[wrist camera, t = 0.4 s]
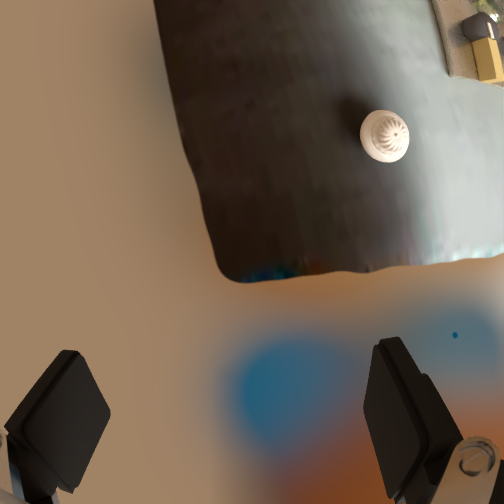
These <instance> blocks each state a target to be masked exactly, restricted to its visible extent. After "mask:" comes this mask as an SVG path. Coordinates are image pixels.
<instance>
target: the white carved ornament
mask: <svg viewBox="0 0 504 504" xmlns="http://www.w3.org/2000/svg"><path fill="white" fill-rule="evenodd" d="M360 139H361V143H362V145H363V147H364V149H365V151H366V152H367V153H368V154H369V155H370V156H371V157H372V158H374V159H376V160H378V161H381V162H394V161H396V160H398V159H400V158H401V157H402V156H403V155H404V154H405V152H406V150H407V148H408V144H409V132H408V128H407V126H406V124H405V123H404V121H403V120H402V119H401V118H400V117H399V116H398V115H396V114H395V113H393V112H391V111H387V110H376V111H373V112H372V113H370V114H369V115H368V116H367V117H366V118H365V120H364V121H363V123H362V125H361V129H360Z"/></svg>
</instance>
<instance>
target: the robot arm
mask: <svg viewBox="0 0 504 504" xmlns="http://www.w3.org/2000/svg"><path fill="white" fill-rule="evenodd" d="M363 409H364V415H365V419H366V422H367V425H368V429H369V432H370V435H371V438H372V442H373V445H374V449H375V452H376V456H377V459H378V463H379V466H380V470H381V474H382V478H383V481H384V485H385V489H386V493H387V496H388V498H389V499H392V498H394V501H395V504H402V503H405V502H406V504H504V460H501V459H500V458H501V456H500V452H499V449H498V447H497V446H496V444H495V443H493V442H492V441H491V440H490V439H487V438H485V437H479V436H478V437H477V436H474V437H469V438H467V439H463V437H462V435H461V433H460V431H459V429H458V427H457V425H456V423H455V422H454V420H453V418H452V416H451V414H450V412H449V411H448V409H447V407H446V405H445V403H444V402H443V400H442V398H441V396H440V395H439V393H438V391H437V389H436V388H435V386H434V384H433V382H432V381H431V379H430V378H429V376H428V375H427V374H425V373H423V374H421V372H420V371H419V369H418V367H417V365H416V364H415V362H414V360H413V359H412V357H411V355H410V354H409V352H408V350H407V349H406V347H405V345H404V344H403V342H402V340H401V339H400V338H399V337H392V338H386V339H381V340H380V341H379V344H378V345H375V346H374V348H373V354H372V361H371V366H370V372H369V378H368V384H367V389H366V395H365V400H364V406H363ZM109 419H110V409H109V407H108V405H107V403H106V401H105V399H104V398H103V395H102V394H101V392H100V390H99V388H98V386H97V384H96V382H95V380H94V378H93V376H92V374H91V372H90V369H89V367H88V365H87V363H86V361H85V359H84V357H83V356H81V354H80V353H79V352H78V351H73V350H62V351H61V352H60V353H59V354H58V356H57V357H56V358H55V359H54V361H53V362H52V363H51V364H50V366H49V367H48V368H47V369H46V371H45V372H44V373H43V374H42V376H41V377H40V378H39V379H38V381H37V382H36V383H35V385H34V386H33V387H32V389H31V390H30V391H29V393H28V394H27V395H26V396H25V398H24V399H23V401H22V402H21V403H20V404H19V406H18V407H17V409H16V410H15V412H14V413H13V414H12V415H11V417H10V418H9V420H8V421H7V422H6V424H5V425H4V427H5V428H6V430H7V431H8V432H9V434H8V435H6V434H5V433H4V431H2V430H1V429H0V504H60V502H59V500H58V496H57V493H56V488H57V486H58V487H59V488H60V489H61V490H63V491H66V492H69V493H71V494H73V491H74V489H75V488H76V487H78V486H79V484H80V482H81V480H82V477H83V475H84V473H85V471H86V468H87V466H88V464H89V462H90V459H91V457H92V455H93V453H94V451H95V448H96V446H97V444H98V442H99V440H100V438H101V435H102V433H103V431H104V429H105V427H106V425H107V423H108V421H109Z"/></svg>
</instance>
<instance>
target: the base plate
mask: <svg viewBox="0 0 504 504" xmlns="http://www.w3.org/2000/svg"><path fill="white" fill-rule="evenodd" d="M431 1H432V4H433V7H434V10H435V14H436V17H437V21H438V25H439V29H440V33H441V37H442V41H443V45H444V50H445V55H446V60H447V65H448V70H449V76H450V77H452V78H458V79H463V80H468V81H473V82H477V83H482V84H486V85H490V86H494V87H498V88H502V89H504V81H502V82H495V83H489V84H488V83H484V82H480V80H479V74H478V69H477V64H476V59H475V54H474V49H473V45H472V42H471V41H470V40H469V39H468V38H467V37H466V35H465V34H464V32H463V29H462V21H463V20H464V19H466V18H468V17H470V16H472V15H474V14H476V13H478V12H485V13H487V14H488V15H489V16H491V17H492V19H493V20H494V21H495V23H496V24H497V26H498V29H499V38H498V39H497V40H496V41H497V45H498V49H499V54H500V58H501V63H502V68H503V73H504V0H494V1H493V0H431Z"/></svg>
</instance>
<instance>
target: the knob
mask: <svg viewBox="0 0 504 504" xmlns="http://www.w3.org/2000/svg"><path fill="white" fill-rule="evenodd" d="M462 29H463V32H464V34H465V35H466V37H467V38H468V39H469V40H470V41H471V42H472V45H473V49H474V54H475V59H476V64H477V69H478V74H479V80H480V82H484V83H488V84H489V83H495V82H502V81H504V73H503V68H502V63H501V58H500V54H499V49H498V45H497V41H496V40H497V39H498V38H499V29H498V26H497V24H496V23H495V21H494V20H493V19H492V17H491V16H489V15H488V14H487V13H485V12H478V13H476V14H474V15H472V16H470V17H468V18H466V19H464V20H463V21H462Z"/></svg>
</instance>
